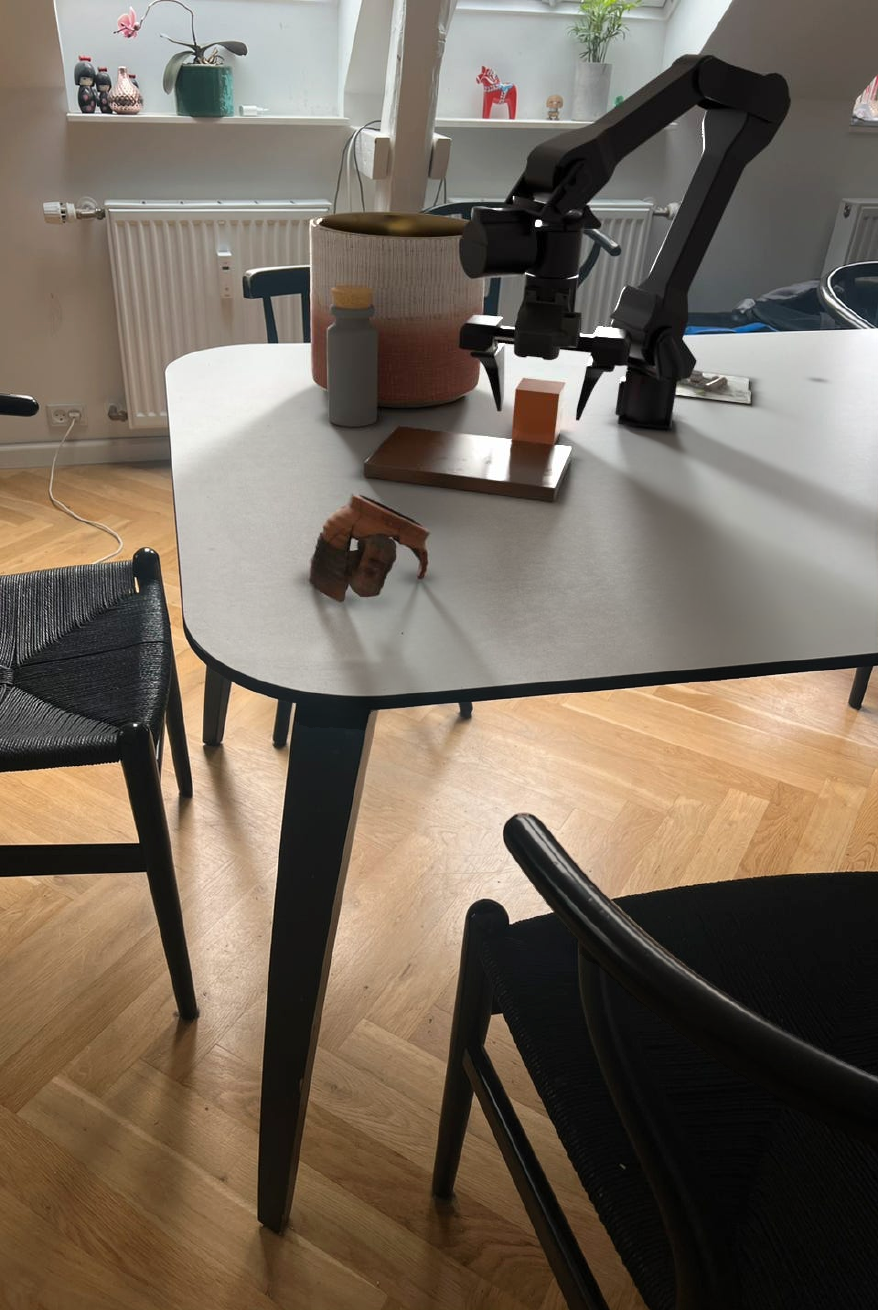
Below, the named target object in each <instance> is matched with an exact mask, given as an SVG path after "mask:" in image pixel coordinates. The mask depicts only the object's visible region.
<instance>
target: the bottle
mask: <svg viewBox="0 0 878 1310" xmlns="http://www.w3.org/2000/svg"><path fill="white" fill-rule="evenodd" d="M331 291H332V296H333V301H334V303H333V304H331V305H330V314H331V315H332V316H334V317H335V323H334V324H332V325H331V326H329V327H328V329H327V383H328V392H327V418H328V421H329V422H331V423H332V424H334V425H337V426H341V427H348V428H349V427H350V428H357V427H366V426H370V425H373V424H374V423H376V422H377V419H378V418H377V417H378V406H377V365H378V332H377V329H376V328H375V327H374V326H373V325H371V324H370V318H371V317H373V316H374V315H375V307H374V306H373V305H372V304H371V300H372V295H373V290H372V289H371V288H368V287H364V286H356V285H344V286H336V287H333V288H332V289H331Z"/></svg>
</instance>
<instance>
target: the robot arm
mask: <svg viewBox="0 0 878 1310" xmlns="http://www.w3.org/2000/svg"><path fill="white" fill-rule="evenodd" d="M789 87H790V86H789V84H788V82H787V79H786V78H785V77H784V76H783V75H782V74H780V73H778V72H772V71H771V72H768V71H752V70H750V69H745V68H743V67H741V66H737V65H733V64H731V63H729V62H726V61H724V60H722V59H720V58H718V57H717V56H715V55H714V54H694V53H693V54H692V53H685V54H683V55H680V56H679V57H678V58H676V59H675V60H674V61H673V62H672V63H671V65H670V67H668V68H666V69H665V70H663V71H662V72H661V73H660V74H658V75H657V76H655V77H654V78H653V79H651V80H650V81H649V82H647V83H646V84H645V85H644V86H642V87H640V88H639V89H638V90H637V91H635V92H633V93H632V94H631V95H630V96H628V97H627V98H625V99H624V100H622V102H620V103H619V104H617V105H616V106H614V107H613V108H612V109H610V110H609V111H608V112H606V113H605V114H603V115H602V116H601V117H599V118H598V119H596V120H595V121H594V122H592V123H590V124H588V125H586V126H584V127H583V126H582V127H580V128H577V129H573V130H570V131H566V132H562V133H561V134H559V135H557V136H554V137H552V138H549V139H547V140H546V141H544V142H541V143H539V144H538V145H536V146H535V147H534V148H533V149H532V150H530V152H529V154H528V155H527V157H526V164H525V168H524V171H523V172H522V174H521V175H520V177H519V178H518V179H517V182H516V183H515V185H514V186H513V188H512V189H511V190H510V192H509V194H508V195H507V196H506V198H505V200H504V201H503V203H502V205H501V207H493V208H492V207H486V206H482V205H481V206H473V207H472V208H471V219H470V220H469V222H467V224H466V225H465V227H464V230H463V233H462V237H461V238H460V239H459V256H460V262H461V265H462V268H463V270H464V272H465V274H466V275H467V276H468V277H469V278H471V279H478V278H485V279H490V278H491V279H492V278H493V279H494V278H508V277H521V276H523V275H524V274H525V275H524V276H525V277H524V286H523V297H522V301H521V304H520V306H519V309H518V311H517V314H516V315H517V316H516V317H517V318H516V320H515V323H514V326H505V325H504V323H505V322H504V317H502V316H493V315H484V314H483V315H473V316H472V317H471V318H470V319H469V320H468V321H467V322H466V323H465V324H464V325H463V326H461V330H460V337H459V348H460V349H463V350H472V351H471V352H470V355H471V357H473V358H478V359H479V360H480V364H482V366H483V368H484V370H485V373H486V375H487V378H488V381H489V384H490V388H491V392H492V396H493V399H494V403H495V407H496V408H495V409H496V411H497V412H502V410H503V406H504V400H505V345H513V354H514V355H515V356H516V357H518V358H524V359H525V358H528V357H531V358H539V359H542V360H544V361H553V360H556V359H557V358H558V357H559V355H560V351H569V352H580V353H590V358H589V360H588V362H587V364H586V367H585V372H584V377H583V382H582V385H581V390H580V394H579V398H578V402H577V406H576V412H575V413H576V414H575V421H580V420H581V418H582V415H583V412H584V410H585V408H586V406H587V404H588V401H589V399H590V396H591V395H592V392H593V390H594V388H595V387H596V385H597V383H598V381H599V380H600V379H601V377H602V375H603V374H604V373H612V372H614V370H615V368H616V367H626V370H625V376H621V378H620V379H619V384H618V391H617V396H616V397H617V399H616V406H615V411H614V412H615V415H616V416H618V417H617V421H616V424H618V425H624V426H631V427H640V428H642V427H643V428H648V429H649V428H650V429H657V430H667V431H670V430H671V429H672V424H673V419H674V407H675V406H674V405H675V399H676V388H677V382H678V381H681V379H685V378H690V376H691V374H692V372H693V370H695V367H696V365H697V359H696V357H695V356H694V354H693V353H692V351H691V350H690V348H689V347H688V345H687V343H686V342H685V340H684V336H685V332H686V329H687V326H688V323H689V320H690V319H689V296H688V295H689V291H690V288H691V286H692V284H693V282H694V279H695V278H696V276H697V273H698V271H699V269H700V267H701V264H702V263H703V260H704V257H705V256H706V253H707V251H708V249H709V246H710V245H711V242H712V240H713V238H714V236H715V234H716V232H717V229H718V227H719V224H720V222H721V221H722V218H723V216H724V214H725V211H726V210H727V208H728V205H729V203H730V201H731V199H732V196H733V194H734V192H735V190H736V188H737V185H738V184H739V182H740V179H741V177H742V174H743V172H744V171H745V168H746V167H747V165H749V164H750V163H751V162H752V161H753V160H754V159H755V158H756V157H757V156H759V154H760V153H763V151H764V150H765V149H767V147H768V146H769V145H770V144H771V143H772V141H773V139H774V138H775V136H776V134H777V133H778V131H779V130H780V128H781V127H782V125H783V123H784V121H785V120H786V118H787V116H788V113H789V111H790V108H791V103H792V98H791V96H790V88H789ZM694 107H696V108H698V109H700V110H703V111H705V114H704V117H703V120H702V134H703V135H702V137H703V150H702V154H701V156H700V158H699V161H698V163H697V165H696V168H695V169H694V172H693V175H692V176H691V178H690V181H689V183H688V186H687V188H686V190H685V193H684V195H683V197H682V198H681V199H682V200H681V201H680V204H679V206H678V209H677V211H676V213H675V214H674V218H673V220H672V222H671V224H670V226H669V229H668V231H667V233H666V236H665V237H664V240H663V242H662V245H661V247H660V249H659V252H658V254H657V256H656V258H655V261H654V263H653V265H652V267H651V270H650V272H649V274H648V275H647V277H646V278H645V279H644V280H643V281H642V282H640V284H638V285H637V286H636V287H635V286H632V285H629V284H626V285H625V286H624V287H623V288H622V290H621V292H620V295H619V298H618V302H617V304H616V307H615V309H614V310H613V312H611V314H610V315H609V319H610V320H612V321H611V324H610V326H609V327H606V326H605V327H603V326H597V328H596V330H595V332H594V333H593V334H587V333H586V334H584V333H582V324H583V323H582V322H583V321H582V319H583V318H582V312H579V311H575V310H576V302H577V291H578V284H579V283H578V282H579V273H580V265H581V255H582V245H583V236H584V231H586V230H600V229H601V228H602V222H601V221H600V220H599V218H598V217H597V216H596V215H595V214H594V213H593V212H592V210H591V209H592V208H591V207H590V205H589V203H590V202H592V200H593V199H594V198H595V197H596V196H597V195H599V193H600V192H601V191H602V190H603V189H604V188H605V187H606V186H607V185H608V183H610V180H611V179H612V176H613V175H614V171H615V169H616V167H617V166H618V165H619V164H620V163H621V162H622V161H623V160H624V159H625V158H626V157H629V155H630V154H632V153H634V152H635V151H636V150H638V149H639V148H640V147H641V146H643V145H644V144H645V143H647V142H648V141H649V140H650V139H652V138H654V137H655V136H657V135H658V134H659V133H660V132H662V131H663V130H664V129H666V128H667V127H669V126H670V125H671V124H672V123H674V122H675V121H676V120H678V119H680V117H682V116H683V115H685V114H686V113H687V112H688V111H690V110H691V109H692V108H694Z"/></svg>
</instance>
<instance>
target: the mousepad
mask: <svg viewBox="0 0 878 1310" xmlns="http://www.w3.org/2000/svg"><path fill="white" fill-rule="evenodd" d="M818 380H819V378H818ZM818 380H817V381H818ZM749 382H750V378H749V377H741V376H733V375H725V374H724V375H723V374H716V373H706V372H703V371H700V370H695V369H693V372H692V374H691V376H690V378H685V379H681V381H678V382H677V388H676V394H675V396H684V397H693V398H701V399H709V400H718V401H724V402H725V401H726V402H734V403H741V404H751V397H752V396H751V395H752V390H751V389H750V390H749V385H750V384H749Z"/></svg>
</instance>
